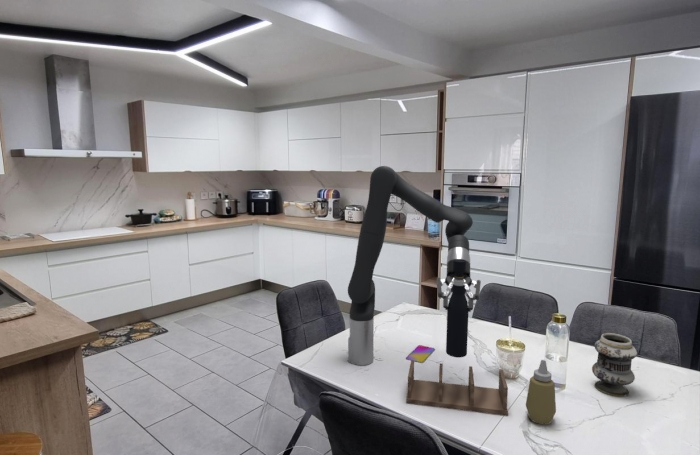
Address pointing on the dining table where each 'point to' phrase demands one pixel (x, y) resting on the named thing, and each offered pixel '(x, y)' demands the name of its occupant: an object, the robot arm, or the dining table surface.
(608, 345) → the apothecary jar
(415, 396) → the slot rack
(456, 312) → the black bottle
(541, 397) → the squeeze bottle
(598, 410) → the dining table surface
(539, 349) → the dining table surface
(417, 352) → the smartphone
